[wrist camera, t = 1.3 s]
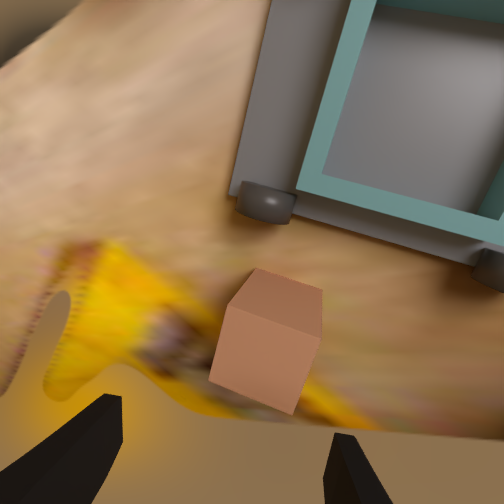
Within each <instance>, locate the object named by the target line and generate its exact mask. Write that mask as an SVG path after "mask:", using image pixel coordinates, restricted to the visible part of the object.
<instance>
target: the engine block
mask: <svg viewBox="0 0 504 504" xmlns="http://www.w3.org/2000/svg"><path fill="white" fill-rule="evenodd" d="M321 339H322V289H319V288H316V287H313V286H310V285H307V284H304V283H301V282H298V281H295V280H292V279H289V278H286V277H283V276H280V275H277V274H273V273H270V272H267V271H264V270H261V269H258V268H256V269H255V270H254V271H253V273H252V274H251V275H250V277H249V278H248V279H247V280H246V282H245V283H244V284H243V286H242V287H241V288H240V289H239V291H238V292H237V293H236V295H235V296H234V297H233V298H232V300H231V301H230V302H229V304H228V305H227V309H226V313H225V317H224V320H223V324H222V328H221V332H220V336H219V340H218V344H217V348H216V352H215V356H214V360H213V363H212V367H211V371H210V375H209V379H208V381H210V382H213V383H215V384H218V385H220V386H222V387H225V388H227V389H230V390H232V391H234V392H237V393H239V394H242V395H244V396H246V397H249V398H251V399H254V400H256V401H259V402H261V403H263V404H266V405H268V406H271V407H273V408H275V409H278V410H280V411H283V412H285V413H288V414H290V415H292V414H293V412H294V409H295V407H296V404H297V402H298V399H299V396H300V394H301V391H302V389H303V386H304V383H305V381H306V378H307V376H308V373H309V370H310V368H311V365H312V363H313V360H314V358H315V355H316V352H317V350H318V347H319V345H320V342H321Z"/></svg>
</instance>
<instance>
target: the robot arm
mask: <svg viewBox="0 0 504 504" xmlns="http://www.w3.org/2000/svg"><path fill="white" fill-rule="evenodd" d="M122 443H123V430H122V397H121V396H116V395H111V394H103V395H102V396H100V397H99V398H98V399H96V400H95V401H94V402H93V403H91V404H90V405H89V406H87V407H86V408H85V409H84V410H82V411H81V412H80V413H78V414H77V415H76V416H75V417H73V418H72V419H71V420H70V421H68V422H67V423H66V424H64V425H63V426H62V427H61V428H59V429H58V430H57V431H55V432H54V433H53V434H51V435H50V436H49V437H48V438H46V439H45V440H43V441H42V442H41V443H40V444H38V445H37V446H35V447H34V448H33V449H32V450H30V451H29V452H27V453H26V454H25V455H24V456H22V457H20V458H19V459H18V460H16V461H15V462H13V463H12V464H11V465H9V466H8V467H6V468H5V469H4V470H2V471H1V472H0V504H91V503H92V501H93V500H94V498H95V496H96V495H97V493H98V491H99V489H100V488H101V486H102V484H103V483H104V481H105V479H106V477H107V475H108V473H109V471H110V468H111V467H112V465H113V463H114V460H115V458H116V456H117V454H118V452H119V449H120V447H121V445H122ZM323 485H324V497H325V504H393V503H392V501H391V499H390V498H389V496H388V494H387V493H386V491H385V489H384V488H383V486H382V484H381V482H380V481H379V479H378V477H377V475H376V474H375V472H374V470H373V468H372V467H371V465H370V463H369V461H368V459H367V458H366V456H365V454H364V452H363V450H362V449H361V447H360V445H359V443H358V442H357V439H356V438H355V437H354V436H352V435H346V434H341V433H335V434H334V437H333V441H332V446H331V449H330V453H329V457H328V460H327V465H326V468H325V472H324V476H323Z"/></svg>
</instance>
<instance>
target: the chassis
mask: <svg viewBox="0 0 504 504" xmlns="http://www.w3.org/2000/svg"><path fill="white" fill-rule="evenodd" d="M228 195H231V196H235V197H238V198H237V202H236V206H235V210H236V211H237V212H239V213H241V214H243V215H245V216H248V217H250V218H253V219H257V220H260V221H264V222H268V223H273V224H281V225H287V224H289V222H290V218H291V215H292V213H293V214H296V215H300V216H303V217H306V218H310V219H313V220H317V221H320V222H323V223H327V224H330V225H334V226H337V227H341V228H344V229H347V230H351V231H354V232H358V233H361V234H365V235H368V236H371V237H375V238H378V239H382V240H385V241H388V242H392V243H395V244H399V245H402V246H406V247H409V248H412V249H416V250H419V251H423V252H426V253H430V254H433V255H436V256H440V257H443V258H447V259H450V260H453V261H457V262H460V263H464V264H467V265H471V266H474V267H475V268H474V270H473V272H472V274H471V277H472V278H473V279H475V280H476V281H478V282H480V283H482V284H484V285H486V286H488V287H491V288H493V289H495V290H498V291H500V292H502V293H504V0H272V2H271V7H270V11H269V16H268V20H267V25H266V29H265V34H264V38H263V42H262V47H261V51H260V56H259V60H258V65H257V69H256V73H255V78H254V82H253V87H252V91H251V96H250V100H249V104H248V109H247V113H246V118H245V122H244V127H243V131H242V136H241V140H240V144H239V149H238V153H237V158H236V162H235V167H234V171H233V175H232V180H231V184H230V189H229V193H228Z"/></svg>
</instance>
